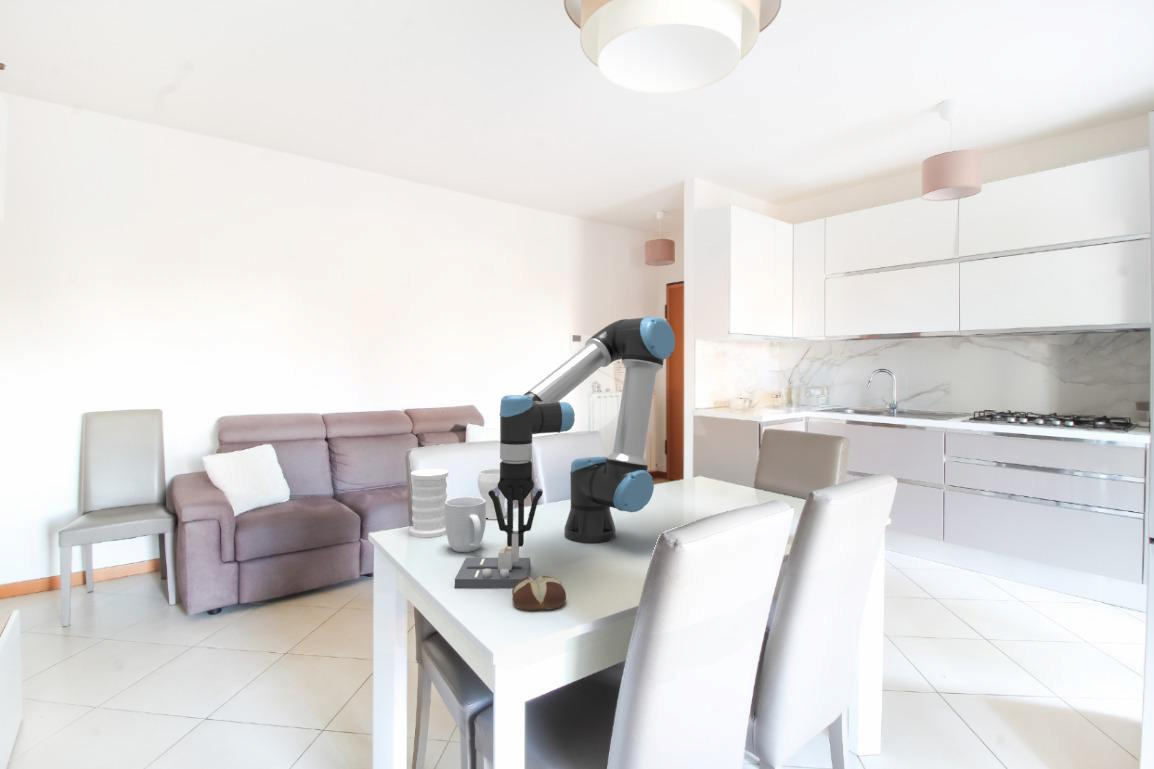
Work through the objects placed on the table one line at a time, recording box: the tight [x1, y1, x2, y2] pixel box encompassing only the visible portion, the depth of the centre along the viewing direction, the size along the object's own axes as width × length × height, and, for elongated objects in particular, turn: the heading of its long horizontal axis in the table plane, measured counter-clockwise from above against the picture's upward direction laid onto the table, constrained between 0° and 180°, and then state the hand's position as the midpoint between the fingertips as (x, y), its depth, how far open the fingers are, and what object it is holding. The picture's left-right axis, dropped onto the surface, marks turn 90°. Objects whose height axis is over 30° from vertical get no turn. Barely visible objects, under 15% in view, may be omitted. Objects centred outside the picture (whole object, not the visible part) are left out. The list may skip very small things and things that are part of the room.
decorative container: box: [409, 468, 449, 539], centre depth 165 cm, size 12×12×18 cm
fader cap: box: [497, 545, 513, 570], centre depth 131 cm, size 3×5×4 cm, turn 1°
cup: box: [477, 468, 507, 520], centre depth 182 cm, size 11×11×15 cm
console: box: [454, 557, 531, 589], centre depth 131 cm, size 16×14×4 cm
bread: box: [511, 575, 567, 611], centre depth 118 cm, size 11×11×5 cm
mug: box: [445, 496, 487, 553], centre depth 149 cm, size 15×11×13 cm
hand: (515, 559), depth 131 cm, fingers closed
